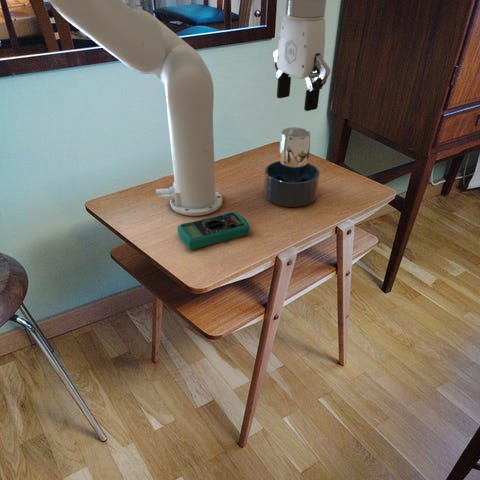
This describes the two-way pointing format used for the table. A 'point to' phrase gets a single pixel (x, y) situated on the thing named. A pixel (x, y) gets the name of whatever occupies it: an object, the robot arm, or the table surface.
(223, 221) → the digital multimeter
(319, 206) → the table surface
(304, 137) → the silver metal tumbler
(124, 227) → the table surface
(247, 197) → the table surface
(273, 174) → the dark blue bowl
